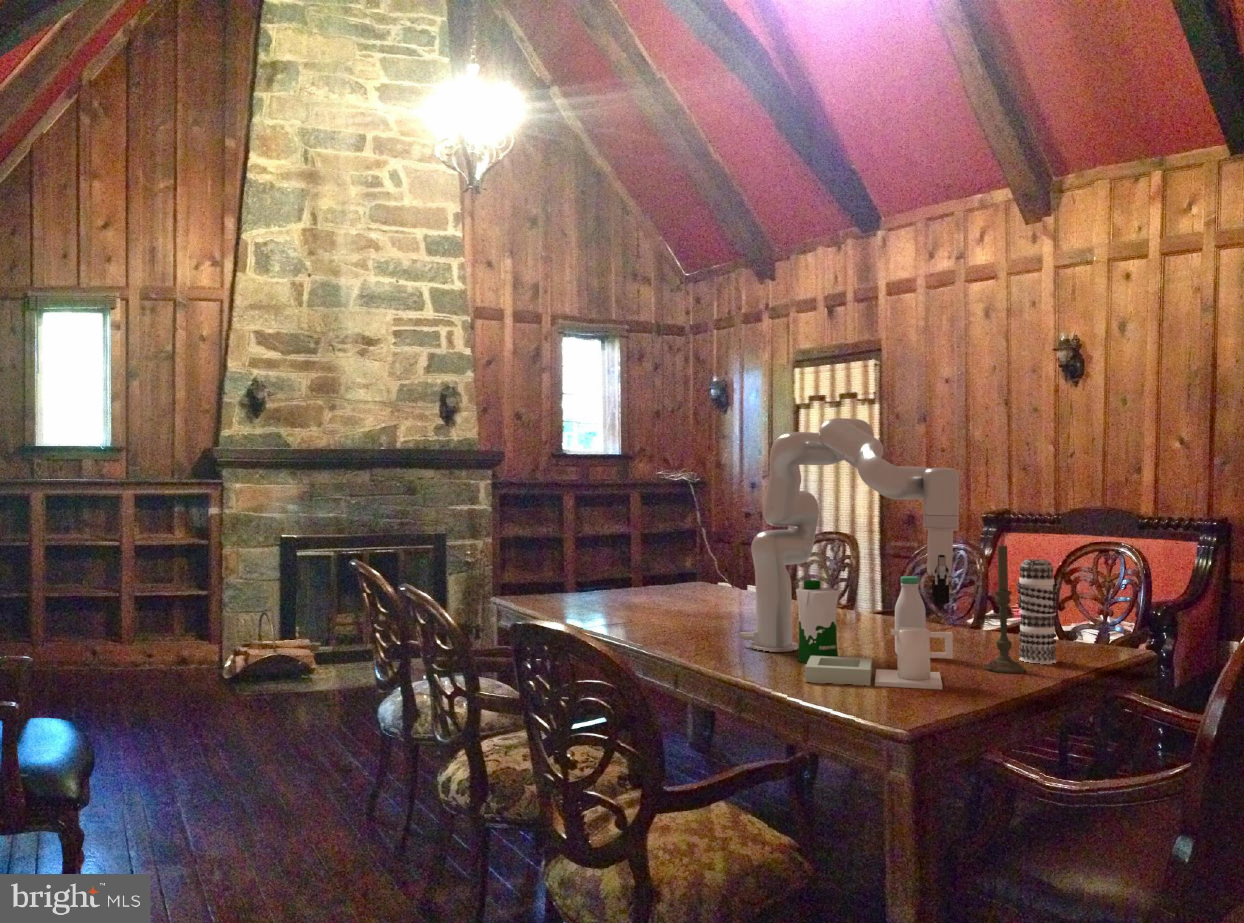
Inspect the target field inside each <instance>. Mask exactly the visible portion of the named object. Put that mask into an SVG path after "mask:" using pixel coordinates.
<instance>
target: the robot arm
mask: <svg viewBox="0 0 1244 923" xmlns="http://www.w3.org/2000/svg"><path fill="white" fill-rule="evenodd" d="M874 435H875V434H874V431H873V428H872V427H871V425H870V423H868V422H867V421H865V420H864V419H859V418H845V417H844V418H842V417H838V418H837V417H835V418H830V419H828V420H826V421H825V422H824V423H822V424H821V426H820V428H819V431H818V432H809V431H793V432H788V433H784V434H781V435H780V436H779V437H777V438H776V439H775V440H774V441H773V444H772V446H771V449H770V454H769V473H768V478H767V485H766V492H765V498H764V505H763V513H762V514H763V519H764V521H765V522H766V523H767V525H769V526H773V527H787V529H769V530H768V529H767V530H764V531H761V532H759V533H758V534H757V535H755V536H754V537H753V540H752V541H751V545H750V546H751V547H750V548H751V556H752V560H753V568H754V577H755V578H754V580H755V630H754V631H751V632H748V631H747V632H743V631H741V632H740V633H739V640H743V641H751V643H750V648H751V647H752V648H753V649H752V648H751V649H752V650H754V649H757V650H756V651H758V650H763V651H762V652H765V651H769V652H768V653H789V652H794V651H797V650H799V643H796V642H793V623H792V621H793V617H792V616H793V613H792V612H793V610H792V609H793V608H792V602H793V601H792V600H793V599H792V580H791V577H790V576H791V575H790V574H789V571H788V570H787V567H786V566H789V565H791V566H792V565H799V564H800V565H801V564H803V563H805V562H807V561H808V560H809V558H810V557H811V555H812V553H813V550H814V549H813V548H814V545H815V539H816V532H817V528H818V522H819V515H820V508H819V504H818V500H817V498H816V497H815V496H814V494H812V493H811V492H809V491H806V490H800V489H801V483H802V474H801V471H800V467H799V465H800V466H830V465H835V464H838V463H840V462H842V461H845V462H846V463H847V464H849V465H851V466H853V467H854V468H856V470H857V472H858V475H859V477H860V478H861V481H863V483H864V484H865V485H867V486H868V487H869V488H871V489H872V490H874V491H875V492H877V493H879V495H881V496H883V497H885V498H888V499H891V500H896V501H897V500H899V501H900V500H901V501H902V500H923V502H922V508H923V509H922V510H923V511H922V512H923V513H922V514H923V515H922V516H923V517H922V527H923V528H922V530H925V531H927V539H926V546H927V548H926V555H927V556H926V560H927V561H926V572H927V574H928V575H929V576H931V575H932V579H931V596H932V598H933V603H934V604H946V605H948V604H949V603H950V585H949V576H950V575H951V574H952V570H953V569H952V568H953V567H952V566H953V555H954V554H953V551H954V550H953V549H954V532H955V531H956V532H957V531H959V529H960V527H959V526H960V523H959V519H960V516H959V514H960V510H959V509H960V474H959V472H958V470H957V469H955V468H953V467H926V466H906V465H905V466H900V465H899V466H898V465H897V466H896V465H894V464H892V463H890V462H889V461H887V460H885V459H884V458H883V455H884V445H883V443H882V442H881V441H880V440H879V439H877V438H876V437H875V436H874ZM793 650H794V651H793Z"/></svg>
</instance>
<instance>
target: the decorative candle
mask: <svg viewBox="0 0 1244 923" xmlns="http://www.w3.org/2000/svg"><path fill="white" fill-rule="evenodd" d="M1018 566H1019V579H1018V582H1017V583H1016V586H1017V590H1016V592H1017V593H1018V594H1019V596H1018V597H1017V598H1016V599H1017V601H1018V602H1019V603H1018V604H1017V606H1018V608H1019V609H1020V610H1019V611H1018V614H1020V624H1019V630H1020V631H1019V632H1018V634H1019V636H1021V637H1020V638H1018V641H1019V642H1020V644H1019V645H1018V649H1019V652H1018V655H1019V656H1020V657H1019V659H1018V660H1019V661H1020V660H1021V661H1024V662H1023V663H1025V662H1029V663H1028V664H1030V663H1040V664H1039V665H1044V664H1046V665H1053V664H1052V663H1055V664H1057V663H1056V662H1058V661H1057V660H1056V658H1057V656H1058V655H1057V653H1056V652H1057V650H1058V649H1057V647H1056V646H1055V644H1056V643H1057V640H1056V639H1055V638H1056V637H1057V634H1056V627H1055V625H1054V624H1055V618H1054V617H1055V616H1056V615H1057V612H1056V611H1055V610H1056V609H1057V606H1056V605H1055V604H1054V602H1057V601H1058V598H1057V597H1055V596H1056V595H1057V594H1058V592H1057V591H1056V590H1055V589H1054V588H1057V586H1058V584H1057V582H1055V578H1054V567H1056V566H1054V565H1052V563H1051V561H1050V560H1048V559H1042V558H1027V559H1025V560H1023V561H1022V563H1021V564H1019V565H1018ZM1021 661H1020V662H1021Z"/></svg>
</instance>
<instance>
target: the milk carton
mask: <svg viewBox="0 0 1244 923" xmlns="http://www.w3.org/2000/svg"><path fill="white" fill-rule="evenodd" d="M795 592H796V594H795V595H796V599H797V604H798V657H797V658H798V661H801V662H800V663H802V662H803V664H806V663H807V662H808V660H809V658H810V656H833V657H839V652H838V637H837V636H838V635H837V634H838V633H837V628H838V626H837V608H838V607H837V606H838V601H839V598H840V596H839V595H840V590H836V589H833V588H824V587H821V580H818V579H817V580H816V579H806V580H803V588H797V589H795Z"/></svg>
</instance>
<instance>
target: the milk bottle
mask: <svg viewBox="0 0 1244 923" xmlns="http://www.w3.org/2000/svg"><path fill="white" fill-rule="evenodd" d="M899 580H900V586H901V589H900V593H899V596H898V598H897V600H896V603H895V606H894V629H898V628H904V627H915V628H925V629H927V615H926V606H925V603H924V600H923V599H922V596H921V593H920V590H919V586H920V577H918V576H916V575H915V576H914V575H904V576H903V575H902V576H900V578H899ZM894 652H895V654H896V655H897V635H894Z"/></svg>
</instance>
